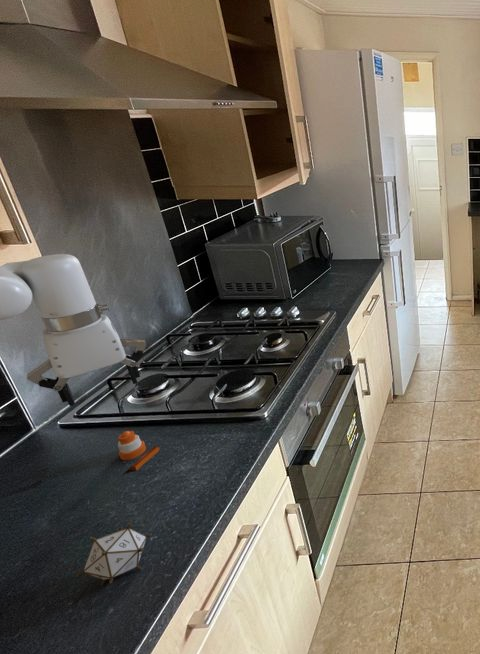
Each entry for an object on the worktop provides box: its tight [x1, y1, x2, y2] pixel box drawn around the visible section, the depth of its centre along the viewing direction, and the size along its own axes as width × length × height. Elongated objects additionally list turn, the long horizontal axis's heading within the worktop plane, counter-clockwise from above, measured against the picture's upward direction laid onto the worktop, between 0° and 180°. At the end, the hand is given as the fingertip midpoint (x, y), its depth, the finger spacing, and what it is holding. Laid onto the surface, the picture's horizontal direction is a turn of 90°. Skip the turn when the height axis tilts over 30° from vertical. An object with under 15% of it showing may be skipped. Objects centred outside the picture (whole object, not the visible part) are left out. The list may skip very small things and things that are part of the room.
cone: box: [117, 430, 160, 471], centre depth 93 cm, size 6×6×8 cm
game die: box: [75, 522, 153, 586], centre depth 70 cm, size 9×8×10 cm
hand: (104, 391), depth 86 cm, fingers open, 9 cm apart
